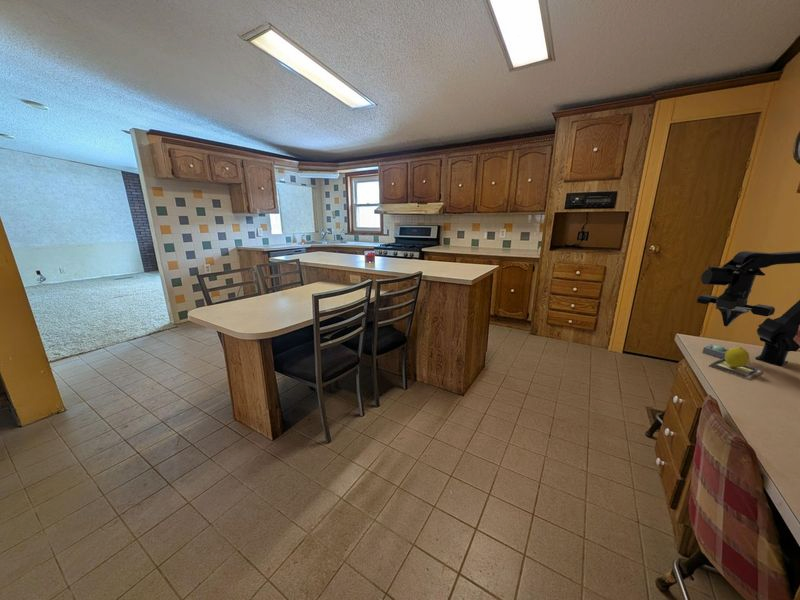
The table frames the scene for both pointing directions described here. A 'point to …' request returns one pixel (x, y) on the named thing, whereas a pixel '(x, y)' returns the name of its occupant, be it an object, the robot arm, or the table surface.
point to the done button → (718, 348)
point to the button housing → (714, 352)
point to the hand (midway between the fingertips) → (725, 326)
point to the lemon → (737, 357)
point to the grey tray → (736, 369)
